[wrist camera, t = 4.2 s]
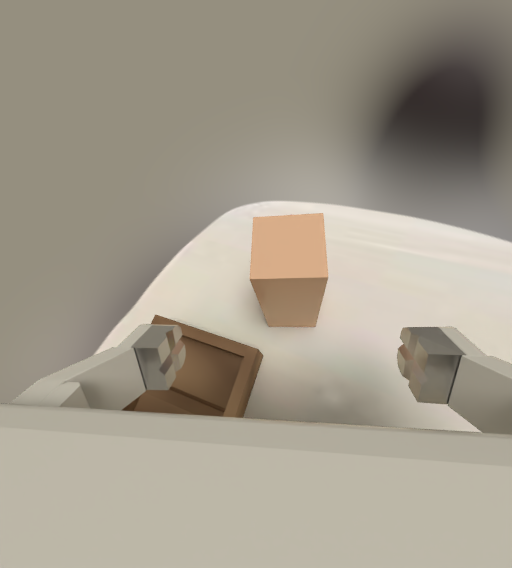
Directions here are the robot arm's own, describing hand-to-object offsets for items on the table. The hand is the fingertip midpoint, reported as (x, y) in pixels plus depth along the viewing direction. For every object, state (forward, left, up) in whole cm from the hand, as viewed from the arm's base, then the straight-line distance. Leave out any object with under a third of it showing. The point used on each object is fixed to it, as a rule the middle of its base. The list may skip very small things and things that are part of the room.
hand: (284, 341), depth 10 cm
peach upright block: (+5, +2, -12) cm, 14 cm away
